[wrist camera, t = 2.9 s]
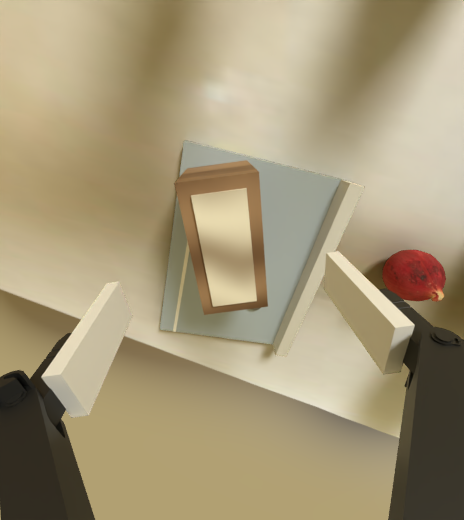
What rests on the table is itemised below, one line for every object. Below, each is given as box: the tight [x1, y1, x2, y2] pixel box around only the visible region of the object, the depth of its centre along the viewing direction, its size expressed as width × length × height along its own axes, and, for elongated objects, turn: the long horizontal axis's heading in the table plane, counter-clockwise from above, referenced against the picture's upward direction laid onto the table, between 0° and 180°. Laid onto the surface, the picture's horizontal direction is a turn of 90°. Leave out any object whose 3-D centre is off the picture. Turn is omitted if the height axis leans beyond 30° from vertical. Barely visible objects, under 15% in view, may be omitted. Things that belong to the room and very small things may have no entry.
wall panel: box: [160, 140, 365, 357], centre depth 29 cm, size 24×18×3 cm
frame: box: [174, 160, 268, 315], centre depth 23 cm, size 12×6×8 cm, turn 7°
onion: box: [382, 250, 446, 301], centre depth 28 cm, size 6×6×8 cm
